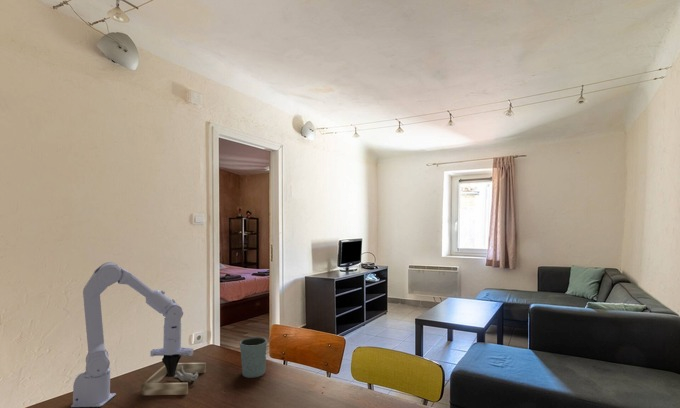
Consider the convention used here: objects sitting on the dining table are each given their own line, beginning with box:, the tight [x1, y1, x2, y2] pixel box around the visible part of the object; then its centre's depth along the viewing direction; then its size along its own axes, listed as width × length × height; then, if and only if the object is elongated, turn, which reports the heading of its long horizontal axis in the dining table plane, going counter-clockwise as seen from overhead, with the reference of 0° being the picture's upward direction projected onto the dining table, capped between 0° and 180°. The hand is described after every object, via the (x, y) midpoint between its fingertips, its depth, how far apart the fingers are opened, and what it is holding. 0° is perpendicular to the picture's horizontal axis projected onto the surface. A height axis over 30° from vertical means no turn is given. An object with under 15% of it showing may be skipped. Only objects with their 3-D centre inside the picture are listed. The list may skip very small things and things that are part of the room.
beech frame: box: [140, 362, 207, 396], centre depth 129 cm, size 15×18×4 cm
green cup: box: [239, 336, 268, 379], centre depth 137 cm, size 10×10×12 cm
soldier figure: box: [173, 365, 199, 383], centre depth 131 cm, size 8×5×12 cm
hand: (171, 375), depth 129 cm, fingers closed
